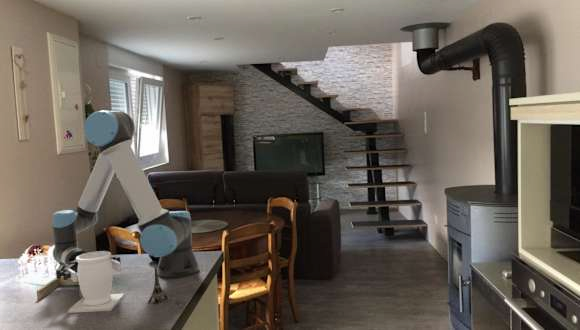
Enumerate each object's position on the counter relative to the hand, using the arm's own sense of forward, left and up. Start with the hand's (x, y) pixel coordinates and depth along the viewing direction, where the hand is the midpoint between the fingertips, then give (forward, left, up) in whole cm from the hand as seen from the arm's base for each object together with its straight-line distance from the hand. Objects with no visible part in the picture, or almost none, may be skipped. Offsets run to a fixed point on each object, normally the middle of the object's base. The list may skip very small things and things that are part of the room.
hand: (98, 272), depth 158 cm
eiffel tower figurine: (-18, -3, -12) cm, 21 cm away
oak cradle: (+17, -17, -11) cm, 26 cm away
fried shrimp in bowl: (-7, -53, -11) cm, 55 cm away
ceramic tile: (+2, -3, -11) cm, 11 cm away
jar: (+2, -3, -10) cm, 11 cm away
